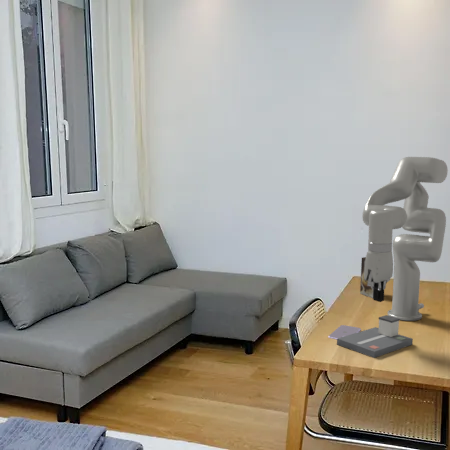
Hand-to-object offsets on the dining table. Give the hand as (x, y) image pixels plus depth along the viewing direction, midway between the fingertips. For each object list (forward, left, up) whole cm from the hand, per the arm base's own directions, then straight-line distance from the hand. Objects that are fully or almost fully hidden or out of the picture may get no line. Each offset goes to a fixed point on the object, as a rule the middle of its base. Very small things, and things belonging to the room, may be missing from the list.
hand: (378, 300), depth 198 cm
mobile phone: (+4, -11, -14) cm, 18 cm away
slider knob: (-2, +3, -11) cm, 12 cm away
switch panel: (+5, +3, -14) cm, 15 cm away
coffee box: (-45, -37, -14) cm, 60 cm away
